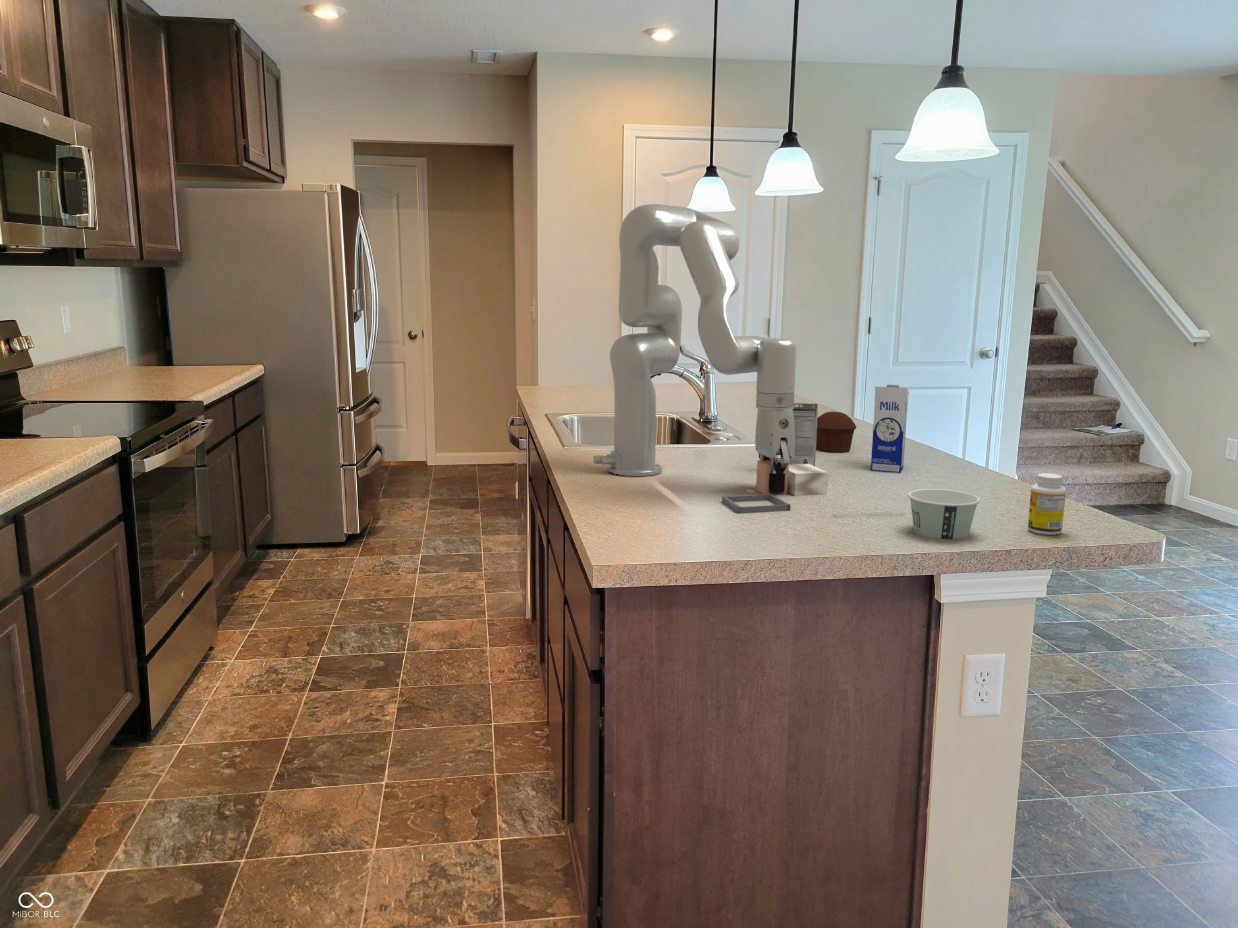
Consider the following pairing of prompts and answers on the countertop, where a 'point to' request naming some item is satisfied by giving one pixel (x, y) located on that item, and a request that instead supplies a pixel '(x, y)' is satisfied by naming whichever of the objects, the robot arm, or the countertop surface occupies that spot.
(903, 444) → the milk carton
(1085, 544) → the countertop surface
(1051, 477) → the supplement bottle
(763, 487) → the block
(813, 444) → the coffee box
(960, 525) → the food container
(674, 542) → the countertop surface
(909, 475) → the countertop surface
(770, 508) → the tray
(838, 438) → the muffin
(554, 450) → the countertop surface
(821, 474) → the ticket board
